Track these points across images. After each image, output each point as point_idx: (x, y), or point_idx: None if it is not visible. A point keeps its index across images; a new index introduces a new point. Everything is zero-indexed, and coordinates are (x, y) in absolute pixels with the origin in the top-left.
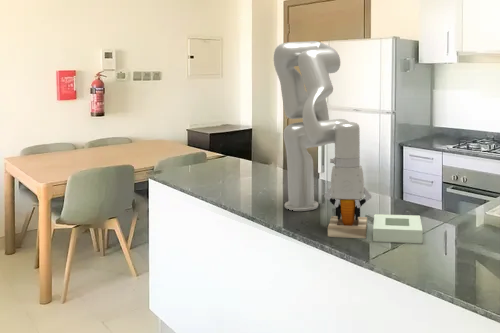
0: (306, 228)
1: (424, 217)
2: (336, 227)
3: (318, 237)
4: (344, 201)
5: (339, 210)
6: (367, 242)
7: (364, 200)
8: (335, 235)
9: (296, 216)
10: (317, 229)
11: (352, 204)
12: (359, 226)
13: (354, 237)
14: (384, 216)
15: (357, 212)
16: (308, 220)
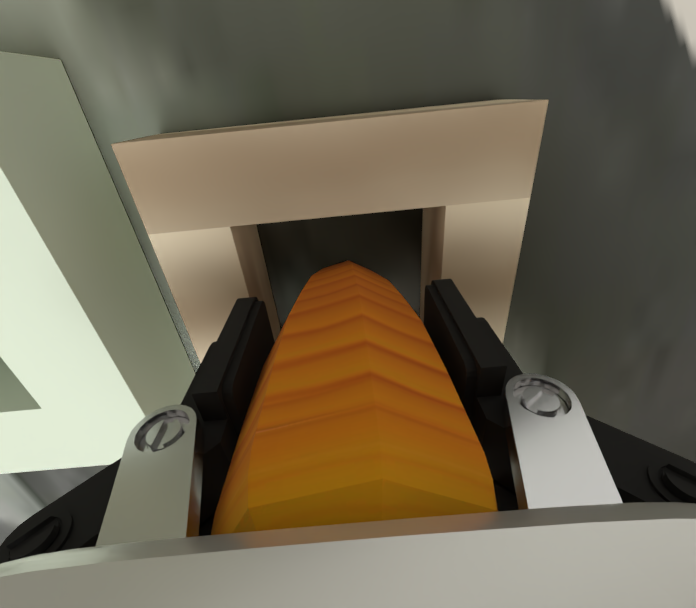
0: (654, 267)
1: (19, 521)
2: (444, 128)
3: (591, 59)
4: (414, 470)
5: (460, 343)
6: (96, 9)
7: (7, 560)
8: (433, 107)
9: (667, 436)
10: (572, 263)
11: (250, 434)
12: (208, 215)
13: (258, 124)
14: (70, 434)
15: (214, 353)
16: (608, 398)
